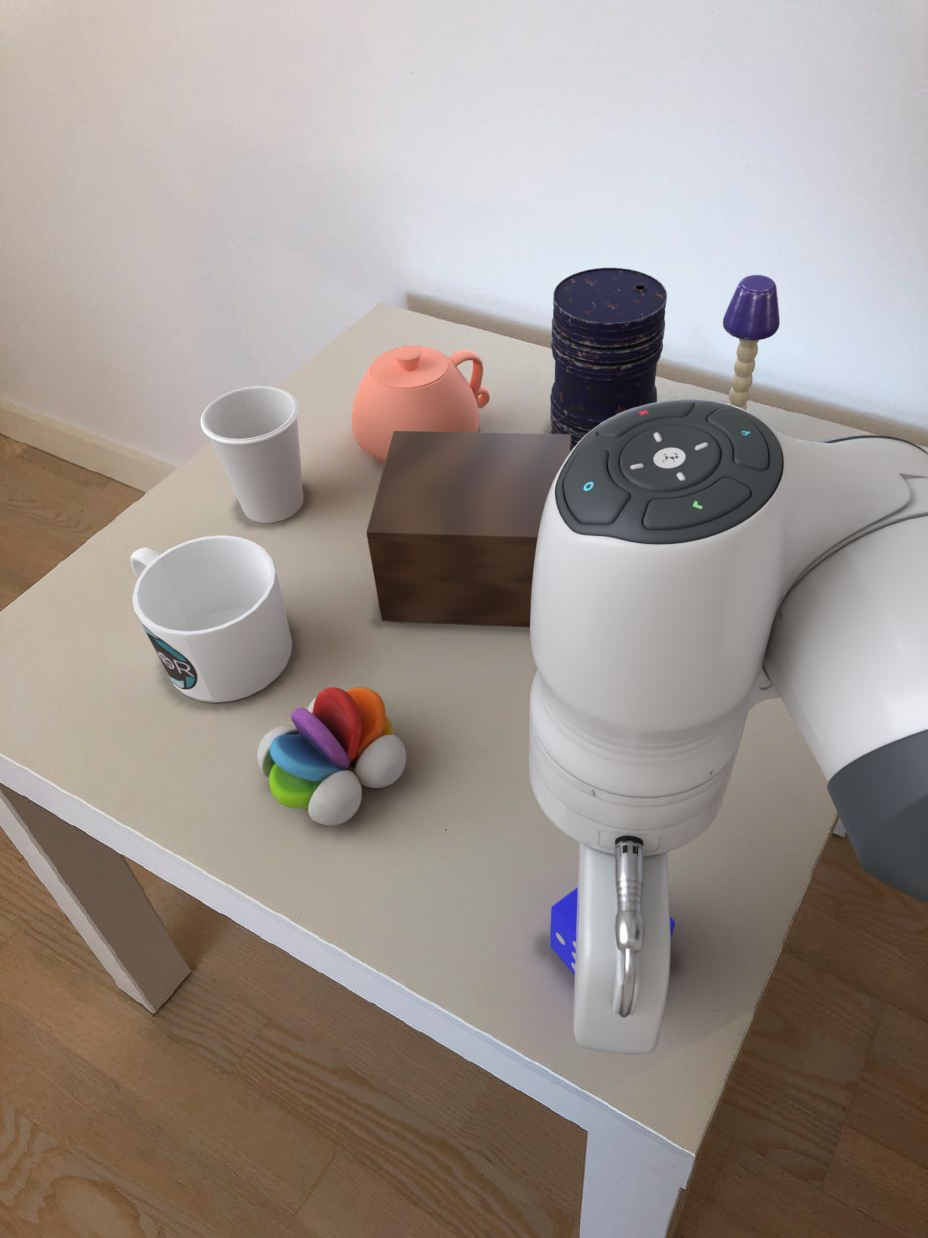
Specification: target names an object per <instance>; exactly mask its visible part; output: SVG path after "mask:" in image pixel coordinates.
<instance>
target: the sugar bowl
mask: <svg viewBox="0 0 928 1238" xmlns="http://www.w3.org/2000/svg"><path fill="white" fill-rule="evenodd" d="M467 361H472V370H471V371H472V372H471V377H470V381H469V382H468V381H467V379H466V378H465V376H464V374H463V373H462V371H460V370H459V368H458V366H459V365H461V364H463V363H465V362H467ZM483 377H484V363H483V360H482V358H481V356H480V355H479V354H477V352H474V351H473V350H469V349H463V350H458V351H456V352H454V353H452V354H451V355H449V356H448V357H447V356H446V355H445V353H442V351H440V350H438V349H436V348H433V347H430V346H425V345H413V344H407V345H402V346H399V347H396V348H392V349H389V350H387V351H385V352H383V353H382V354H380V355H378V356H377V357H376V358H375V359H374V360H373V361H372V363H371V364H370V365H369V367H368V369H367V370H366V372H365V374H364V375H363V377H362V379H361V381H360V383H359V385H358V388H357V389H356V393H355V395H354V400H353V403H352V410H351V430H352V435H353V438H354V441H356V443H357V444H358V446H359V447H360V448H361V450H362V451H364V452H365V453H366V454H367V455H368V456H370V457H372V458H373V459H375V460H376V461H378V462H380V463H382V464H384V465H385V461H386V458H387V454H388V450H389V447H390V443H391V439H392V436H393V432H394V431H422V432H475V433H478V431H479V428H480V424H481V423H480V421H481V419H480V418H481V417H480V409H483V408H485V407H486V406H487V405H488V404H489V402H490V399H491V395H490V391H489V390H488V389H487V388H486V387H485V386H481V385H482V382H483Z"/></svg>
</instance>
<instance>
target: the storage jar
mask: <svg viewBox="0 0 928 1238" xmlns="http://www.w3.org/2000/svg"><path fill="white" fill-rule="evenodd" d="M552 297H553V298H552V299H553V300H552V301H553V303H552V304H553V305H552V306H553V308H552V318H551V338H552V339H551V342H550V349H551V354H552V358H553V359H554V382H553V384H552V386H551V391H550V396H549V397H550V399H549V401H550V410H549V411H550V413H549V414H550V417H549V418H550V423H551V432H550V434H571V451H572V449H573V448H574V447H575V446H576V445H577V444H578V442H579V441H580V440H581V439H582V438H583V437H584V436H585V435H586V434H588V433H589V432H590V431H591V430H592V429H594V428H595V427H597V426H598V425H599V424H601V423H602V422H604V421H606V420H607V419H609V418H611V417H613V416H615V415H617V414H619V413H621V412H624V411H626V410H629V409H632V408H635V407H639V406H642V405H646V404H650V403H655V402H658V389H657V386H656V378H657V367H658V362H659V361H660V358H661V356H662V352H663V349H664V342H663V341H664V338H665V337H664V336H665V330H666V319H665V317H666V307H667V300H668V292H667V290H666V288H665V286H664V285H663V284H662V283H661V282H660V281H659V280H658V279H657V278H655V277H654V276H651V275H650V274H647V273H645V272H641V271H639V270H635V269H630V268H622V267H597V268H591V269H585V270H582V271H578V272H576V273H573V274H571V275H569V276H567V277H565V278H564V279H562V280H561V281H560V282H559V283H557V285H556V287H555V288H554V291H553V296H552Z"/></svg>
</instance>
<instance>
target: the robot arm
mask: <svg viewBox="0 0 928 1238" xmlns="http://www.w3.org/2000/svg"><path fill="white" fill-rule="evenodd" d="M529 640H530V641H529V642H530V648H531V653H532V657H533V661H534V663H535V667H536V668H537V669H536V671H535V674H534V676H533V680H532V683H531V688H530V692H529V700H528V701H529V704H528V710H529V711H528V716H529V717H528V718H529V719H528V720H529V721H528V722H529V724H528V774H529V775H528V777H529V781H530V786H531V789H532V792H533V794H534V797H535V799H536V801H537V804H538V805H539V807H540V808H541V810H542V811H543V812H544V814H545V815H546V817H547V818H548V819H549V820H550V821H551V822H552V823H553V825H555V826H556V827H557V828H558V829H559V830H560V831H562V832H563V833H564V834H566V835H567V836H568V837H569V838H571V839H573V840H574V841H576V842H578V867H577V868H578V869H577V870H578V871H577V887H578V897H577V927H576V958H575V975H574V988H573V989H574V993H573V1033H574V1039H575V1041H576V1043H577V1045H579V1046H580V1047H581V1048H583V1049H586V1050H590V1051H593V1052H601V1053H608V1054H616V1055H627V1056H628V1055H629V1056H630V1055H631V1056H643V1055H644V1056H645V1055H650V1054H652V1053H653V1052H654V1051H655V1050H656V1049H657V1047H658V1046H659V1041H660V1038H661V1031H662V1027H663V1022H664V1017H665V1009H666V1004H667V997H668V989H669V983H670V982H669V981H670V972H671V971H670V970H671V949H672V948H671V947H672V946H671V944H672V938H671V935H670V917H671V913H670V911H671V910H670V909H671V908H670V888H669V887H670V886H669V885H670V883H669V861H668V860H669V859H668V853H669V852H672V851H675V850H678V849H680V848H682V847H684V846H686V845H688V844H690V843H691V842H693V841H694V840H696V839H697V838H698V837H700V836H701V835H702V834H704V833H705V832H706V831H707V830H708V828H709V827H711V825H712V824H713V822H714V821H715V819H716V818H717V816H718V815H719V813H720V811H721V809H722V807H723V805H724V801H725V797H726V794H727V791H728V787H729V783H730V779H731V776H732V773H733V770H734V766H735V762H736V759H737V755H738V752H739V748H740V745H741V741H742V738H743V734H744V730H745V726H746V721H747V717H748V715H749V713H750V711H751V710H752V709H753V707H755V706H756V705H757V704H759V703H761V702H763V701H767V700H770V699H778V698H780V699H781V701H782V703H783V705H784V706H785V708H786V710H787V712H788V714H789V716H790V717H791V718H792V721H793V722H794V725H795V726H796V728H797V730H798V731H799V733H800V734H801V737H802V739H803V740H804V742H805V744H806V746H807V748H808V749H809V751H810V753H811V754H812V757H813V758H814V760H815V762H816V764H817V765H818V767H819V769H820V771H821V773H822V775H823V776H824V777H825V779H826V782H827V785H826V788H827V789H826V790H827V792H828V795H829V797H830V799H831V802H832V804H833V805H834V808H835V810H836V812H837V815H838V817H839V819H840V822H841V823H842V826H843V828H844V830H845V832H846V833H845V834H846V835H847V837H848V839H849V842H850V844H851V846H852V848H853V851H854V853H855V856H856V857H857V860H858V863H859V865H860V866H861V869H862V870H863V871H864V872H865V873H866V874H868V875H869V876H870V877H872V878H874V879H876V880H878V881H880V882H881V883H883V884H885V885H887V886H889V887H891V888H893V889H895V890H897V891H899V892H900V893H902V894H905V895H907V896H908V897H911V898H913V899H916V900H918V901H920V902H922V903H925V904H928V451H926V450H925V449H924V448H922V447H921V446H919V445H917V444H915V443H914V442H911V441H908V440H907V439H904V438H903V439H902V438H900V437H894V436H889V435H877V434H876V435H875V434H873V435H872V434H861V435H850V436H842V437H841V436H840V437H836V438H830V439H824V440H823V439H822V440H819V441H818V440H817V441H810V440H804V439H802V438H801V439H800V438H796V437H792V436H789V435H787V434H783V433H781V432H779V431H777V430H776V429H774V428H772V426H770V425H769V424H768V423H767V422H766V421H765V420H763V419H762V418H760V417H759V416H757V415H755V414H754V413H752V412H750V411H748V410H747V411H746V410H744V409H741V408H739V407H736V406H733V405H729V403H726V402H725V403H724V402H720V401H717V400H716V401H715V400H708V399H695V398H683V399H679V398H678V399H668V400H661V401H657V402H655V403H650V404H646V405H642V406H639V407H635V408H632V409H629V410H626V411H624V412H621V413H619V414H617V415H615V416H613V417H611V418H609V419H607V420H606V421H604V422H602V423H601V424H599V425H598V426H597V427H595V428H594V429H592V430H591V431H590V432H589V433H588V434H586V435H585V436H584V437H583V438H582V439H581V440H580V441H579V442H578V444H577V445H576V446H575V447H574V448H573V449H572V451H571V452H570V454H569V455H568V457H567V458H566V460H565V461H564V463H563V465H562V466H561V468H560V469H559V471H558V473H557V475H556V477H555V479H554V481H553V483H552V486H551V488H550V490H549V493H548V496H547V499H546V503H545V506H544V510H543V514H542V518H541V523H540V527H539V533H538V539H537V546H536V553H535V561H534V569H533V580H532V593H531V614H530V627H529Z"/></svg>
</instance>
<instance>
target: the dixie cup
mask: <svg viewBox="0 0 928 1238" xmlns="http://www.w3.org/2000/svg"><path fill="white" fill-rule="evenodd" d="M299 413H300V405H299V402H298V400H297V399H296V397H294V396H293V395H292V393H290V392H288V391H286V390H284V389H283V388H282V389H281V388H279V387H275V386H269V385H251V386H245V387H239V388H236V389H233V390H230V391H227V392H225V393H223V394H221V395H219V396H218V397H216V398H215V399H214V400H212V401H211V402H210V403H209V404H208V405H207V406H206V408H205V409H204V410H203V412H202V414H201V416H200V427H201V429H202V431H203V433H204V434H205V435H206V436H207V437H208V439H209V441H210V443H211V446H212V448H213V450H214V452H215V454H216V456H217V459H218V460H219V462H220V465H221V467H222V469H223V471H224V473H225V475H226V477H227V479H228V482H229V484H230V486H231V488H232V490H233V492H234V494H235V496H236V498H237V501H238V503H239V505H240V507H241V509H242V511H243V513H244V515H245V516H246V517H247V518H248V519H250V520H251V521H254V522H256V523H262V524H273V523H278V522H282V521H285V520H288V519H289V518H291V517H293V516H294V515H295V514H297V513H298V512H299V511H300V510H301V508H302V506H303V504H304V489H303V487H304V486H303V473H302V463H301V451H300V436H299V424H298V416H299Z"/></svg>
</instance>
